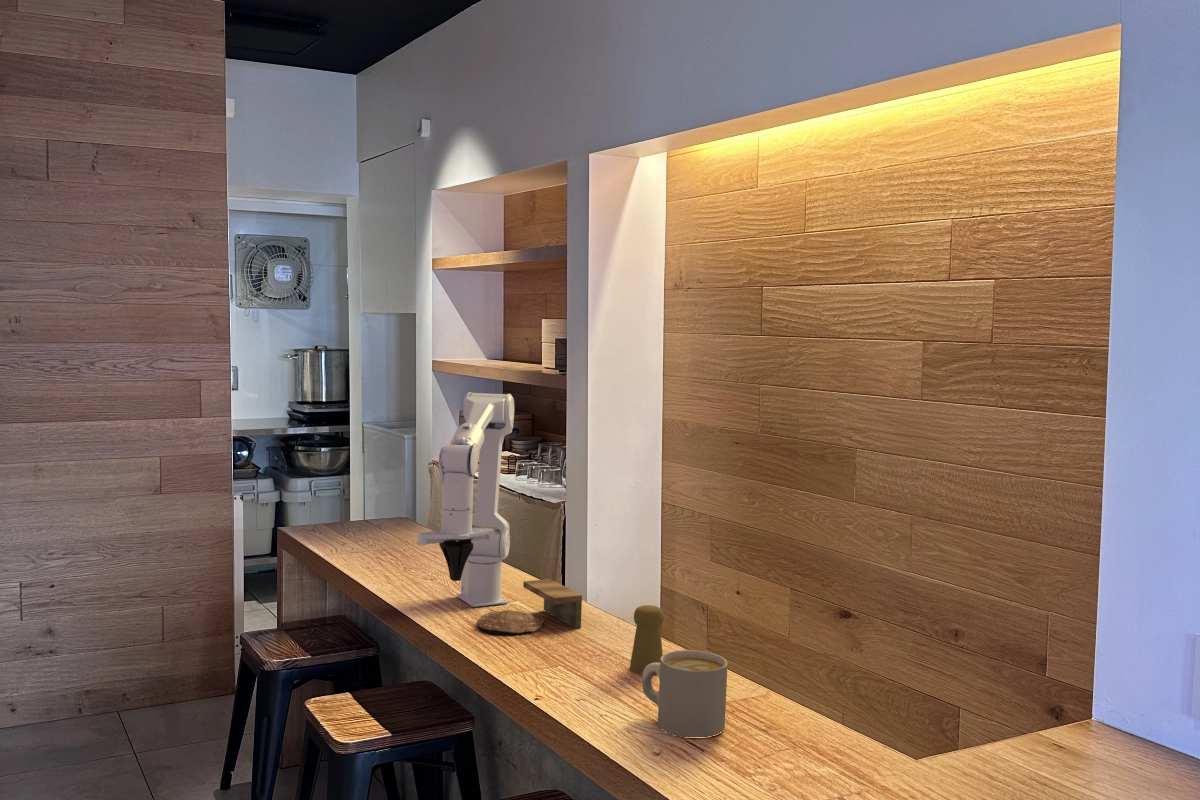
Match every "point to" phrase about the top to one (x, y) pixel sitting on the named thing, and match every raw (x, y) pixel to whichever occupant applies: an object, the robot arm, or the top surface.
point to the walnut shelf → (558, 600)
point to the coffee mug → (689, 692)
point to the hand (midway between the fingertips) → (455, 579)
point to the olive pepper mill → (647, 638)
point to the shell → (509, 623)
